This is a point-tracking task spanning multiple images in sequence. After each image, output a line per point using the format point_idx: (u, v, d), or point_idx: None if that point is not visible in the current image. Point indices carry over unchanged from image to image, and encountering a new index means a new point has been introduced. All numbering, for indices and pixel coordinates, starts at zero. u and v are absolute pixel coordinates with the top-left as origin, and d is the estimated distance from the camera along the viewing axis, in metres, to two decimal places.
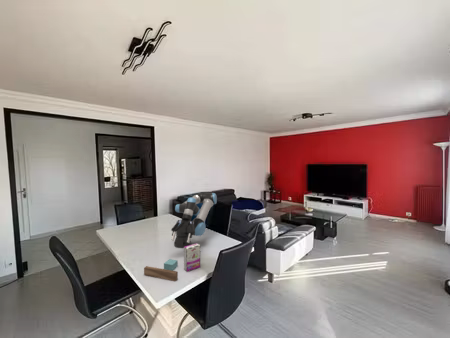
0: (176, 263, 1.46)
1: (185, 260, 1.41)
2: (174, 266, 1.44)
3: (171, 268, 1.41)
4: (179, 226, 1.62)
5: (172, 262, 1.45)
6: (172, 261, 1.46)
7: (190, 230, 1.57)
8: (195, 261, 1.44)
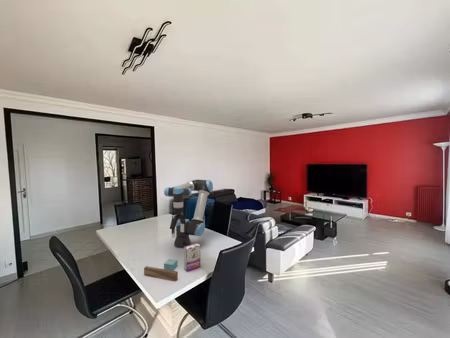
0: (176, 263, 1.46)
1: (185, 260, 1.41)
2: (174, 266, 1.44)
3: (171, 268, 1.41)
4: (179, 219, 1.58)
5: (172, 262, 1.45)
6: (172, 261, 1.46)
7: None
8: (195, 261, 1.44)
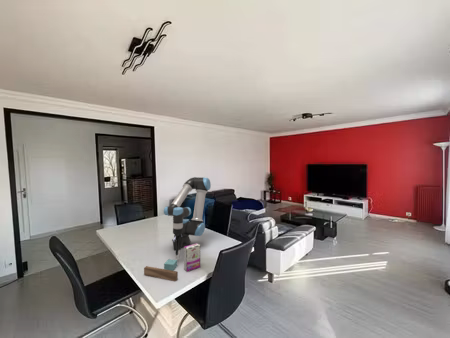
0: (176, 263, 1.47)
1: (185, 260, 1.41)
2: (174, 266, 1.44)
3: (172, 268, 1.42)
4: None
5: (172, 262, 1.45)
6: (172, 261, 1.46)
7: None
8: (195, 261, 1.44)
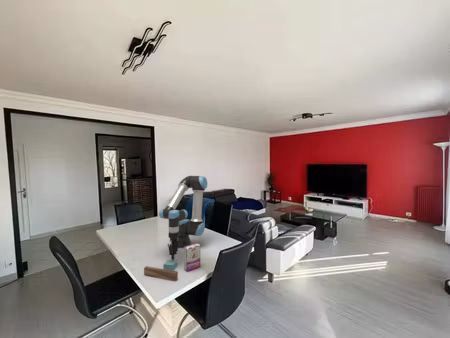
0: (175, 263, 1.46)
1: (185, 260, 1.41)
2: (174, 266, 1.43)
3: (171, 268, 1.41)
4: None
5: (172, 262, 1.44)
6: (171, 261, 1.45)
7: None
8: (195, 261, 1.44)
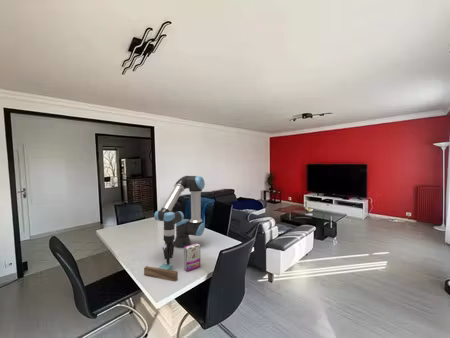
0: (171, 267, 1.40)
1: (185, 260, 1.41)
2: None
3: None
4: None
5: (166, 266, 1.38)
6: (166, 265, 1.40)
7: None
8: (195, 261, 1.44)
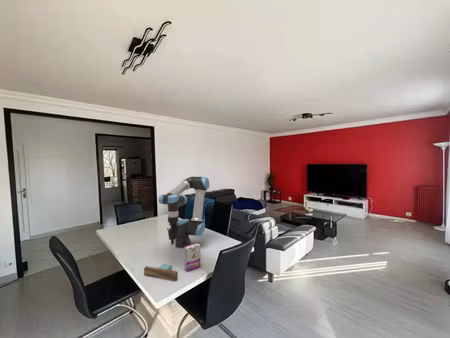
0: (170, 268, 1.39)
1: (185, 260, 1.41)
2: None
3: None
4: None
5: (166, 267, 1.38)
6: (166, 266, 1.39)
7: None
8: (195, 261, 1.44)
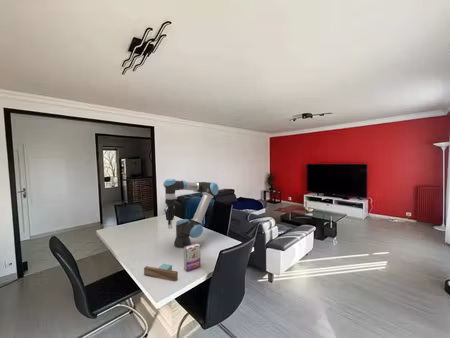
0: (170, 268, 1.39)
1: (185, 260, 1.41)
2: None
3: None
4: None
5: (166, 267, 1.38)
6: (166, 266, 1.39)
7: None
8: (195, 261, 1.44)
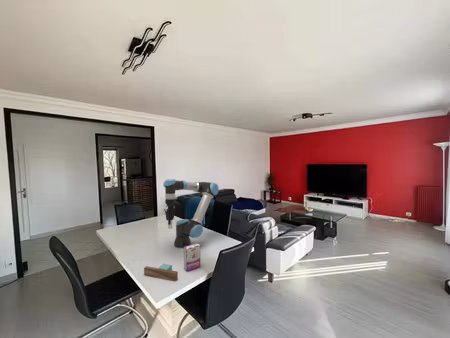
0: (170, 268, 1.39)
1: (185, 260, 1.41)
2: None
3: None
4: None
5: (166, 267, 1.38)
6: (166, 266, 1.39)
7: None
8: (195, 261, 1.44)
